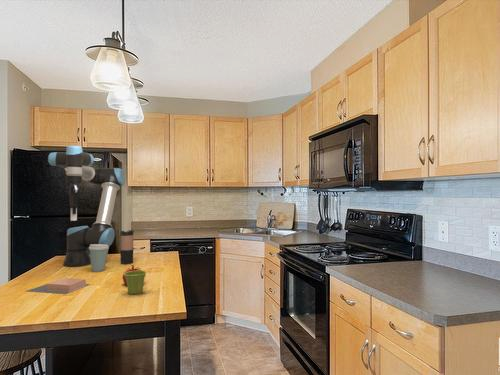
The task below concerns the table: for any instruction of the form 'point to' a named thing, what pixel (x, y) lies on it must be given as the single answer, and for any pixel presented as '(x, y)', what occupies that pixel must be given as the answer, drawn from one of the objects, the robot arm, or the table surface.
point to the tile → (65, 285)
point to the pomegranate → (129, 271)
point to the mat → (43, 290)
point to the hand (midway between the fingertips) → (73, 220)
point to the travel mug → (126, 247)
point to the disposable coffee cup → (98, 256)
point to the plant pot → (135, 281)
